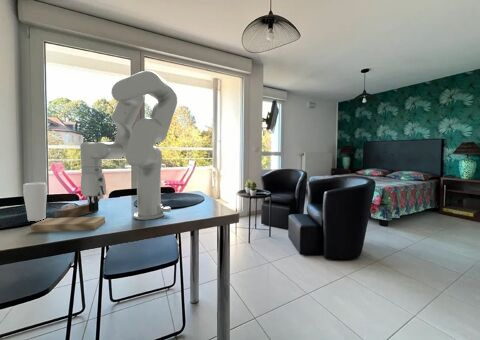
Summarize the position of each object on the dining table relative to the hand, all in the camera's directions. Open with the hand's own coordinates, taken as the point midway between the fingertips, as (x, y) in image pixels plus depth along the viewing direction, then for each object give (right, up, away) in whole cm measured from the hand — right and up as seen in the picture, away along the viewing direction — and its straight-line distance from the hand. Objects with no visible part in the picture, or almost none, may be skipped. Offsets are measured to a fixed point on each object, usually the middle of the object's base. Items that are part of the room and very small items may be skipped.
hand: (93, 210), depth 95 cm
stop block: (-12, -1, 0) cm, 12 cm away
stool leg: (-5, -1, -3) cm, 6 cm away
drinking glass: (-17, -2, -9) cm, 19 cm away
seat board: (+3, -3, -16) cm, 17 cm away
